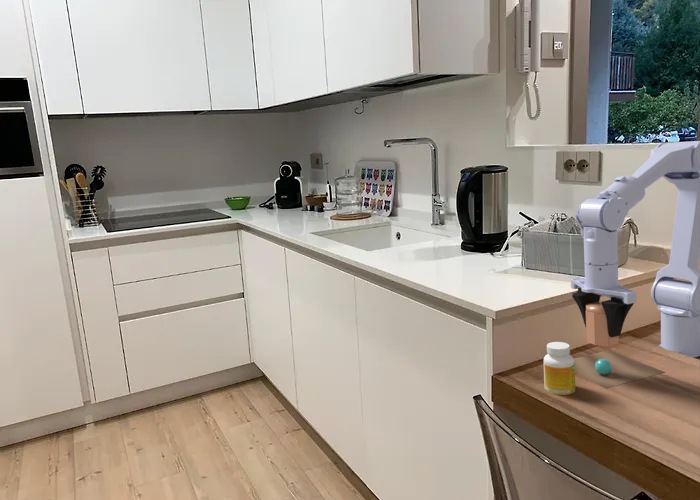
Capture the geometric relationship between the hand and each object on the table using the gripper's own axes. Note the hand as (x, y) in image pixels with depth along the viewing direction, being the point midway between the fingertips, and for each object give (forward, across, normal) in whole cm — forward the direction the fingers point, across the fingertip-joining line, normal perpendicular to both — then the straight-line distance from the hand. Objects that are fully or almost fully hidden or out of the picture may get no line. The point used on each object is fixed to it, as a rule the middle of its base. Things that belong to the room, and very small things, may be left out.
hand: (602, 331), depth 103 cm
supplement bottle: (+10, +1, -11) cm, 15 cm away
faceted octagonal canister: (+2, 0, 0) cm, 2 cm away
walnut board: (+10, -2, +3) cm, 11 cm away
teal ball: (+7, 0, 0) cm, 7 cm away
